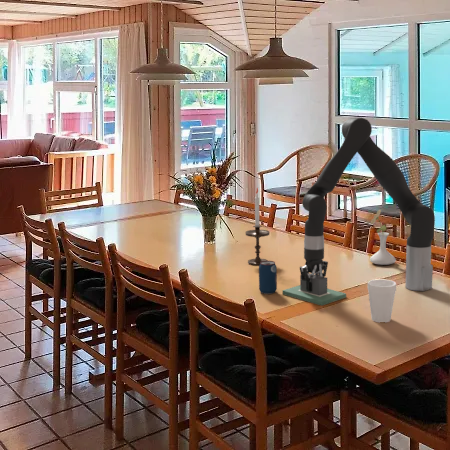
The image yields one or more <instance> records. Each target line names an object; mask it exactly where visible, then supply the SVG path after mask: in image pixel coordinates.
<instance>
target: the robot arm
mask: <svg viewBox="0 0 450 450" xmlns="http://www.w3.org/2000/svg"><path fill="white" fill-rule="evenodd" d="M372 131H373V129H372V124H371V122H370V121H369V120H368V119H366V118H364V117H351V118H348V119H347V120H345V121H343V123H342V127H341V133H342V136H343V138H344V140H343V143H342V144H341V146H340V148H339V149H338V150H337V151H336V153H335V154H334V155H333V156H332V157H331V158H330V160H329V161H328V162H327V163H326V165H325V166H324V168H323V169H322V171H321V172H320V174H319V175H318V178H317V179H316V181H315V182H314V183H313V185H311V186H310V188H309V189H308V190H307V192H306V193H305V194H304V196H303V198H302V207H303V209H304V210H306V211H307V212H308V216H307V217H308V218H307V219H306V220H305V222H304V239H303V258H304V259H305V263H304V265H303V266H299V272H300V275H301V277H302V280H303V281H306V290H307V291H309V292H311V291H312V278H313V277H314V275H318V276H322V277H326V275H327V270H328V266H329V261H326V260H324V258H325V237H324V227H325V226H324V223H325V219H326V214H327V206H328V205H327V202H326V201H327V200H326V199H325V196H326V195H328V194H330V193H332V192H333V190H334V189H335V187H336V186H337V185H338V182H339V180H340V178H342V176H343V174H344V172H345V170H346V169H347V167H348V166H349V164H350V163H351V161H352V160H353V159H354V157H355V156H356V154H358V155H359V156H360V157H361V159H362V160H363V162H364V164H365V165H366V166H367V168H368V170H369V171H370V172H371V174H372V175H373V176H374V178H375V180H376V181H377V183H378V184H379V185H380V186H381V187H382V188H383V190H384V191H385V192H386V194H387V195H388V196H389V197H390V198H391V199H392V200H393V202H394V203H395V204H396V205H397V207H398V208H399V211H400V212H401V214H402V216H403V217H404V219H405V221H406V222H407V223H408V224H409V225H410V233H409V236H408V237H407V238H406V255H405V256H406V257H405V258H406V259H405V285H404V286H405V288H406V289H408V290H409V291H417V292H426V291H428V290H431V289H433V272H434V271H433V270H434V269H433V267H434V265H433V264H431V262H432V261H431V260H432V242H433V240H434V235H435V234H434V233H435V224H436V223H435V221H436V217H435V212H434V210H433V209H432V208H431V207H429V206H427V205H425V204H423V203H422V202H421V201H420V200H419V199H418V198H417V197H416V195H414V193H413V192H412V190H411V189H410V187H409V185H408V182H407V179H406V177H405V175H404V173H403V172H402V169H400V167H399V166H398V165H397V163H396V162H395V161H394V159H393V158H392V157H390V156H389V155H388V154H387V153H386V152H385V151H384V150H383V149H381V148H380V146H378V145H377V143H375V141H374V139H372V137H371V135H372ZM309 273H310V274H309ZM309 276H310V279H309V278H308V277H309Z"/></svg>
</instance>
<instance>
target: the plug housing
mask: <svg viewBox="0 0 450 450" xmlns="http://www.w3.org/2000/svg"><path fill="white" fill-rule="evenodd" d="M309 274H311V273H309ZM318 275H319V274H318ZM318 275H315V274H314V277H313V278H312V291H311V292H309V291H307V290H306V281H303V280H302V277H301V274H300V278H299V279H300V280H299V281H300V290H301V291H305V292H308V293H312V294H315V295H319V296H320V295H323V294H326V293H327V288H328V277H326V276H325V277H322V276H318ZM308 278H309V279H310V276H309V277H308Z"/></svg>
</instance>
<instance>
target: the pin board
mask: <svg viewBox="0 0 450 450" xmlns="http://www.w3.org/2000/svg"><path fill="white" fill-rule="evenodd" d="M282 295H285V296H287V297H291V298H295V299H299V300H301V301H305V302H308V303H311V304H314V305H318V306H321V307H323V306H325V305H328V304H331V303H334V302H337V301H340V300H343V299H345V298H347V293H345V292H342V291H338V290H335V289H331V288H328V287H327V293H326V294H323V295H320V296H319V295H315V294H312V293H308V292H305V291H301V290H300V285H296V286H292V287H289V288H285V289H283V290H282Z"/></svg>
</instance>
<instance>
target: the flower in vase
mask: <svg viewBox="0 0 450 450" xmlns="http://www.w3.org/2000/svg"><path fill="white" fill-rule="evenodd" d="M381 213H382V210H381V209H378V210H377V212H376V213H375V214H374V215H373V218H372V219H371V220H370V225H371V226H372V225H374V224H375V222H376V221H378V223H379V224H380V227H378V229H377V230H376V233H377V235H378V237H379V242H380V247H379V250H378V251H377V252H375V253H374V254H373V255H371V256H370V258H369V261H370V262H371V263H372V264H375V265H379V266H383V265H384V266H385V265H387V266H389V265H392V264H395V263H396V261H397V259H396V257H395V256H394V255H392V254H391V253H390V252H389V251H388V249H387V247H386V246H387V245H386V244H387V243H386V242H387V239H388V236H390V233H389V232H385V231H387V227H386V224H384V225H382V223H381V220H380V218H379V217H380V215H381ZM380 231H381V232H380Z"/></svg>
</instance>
